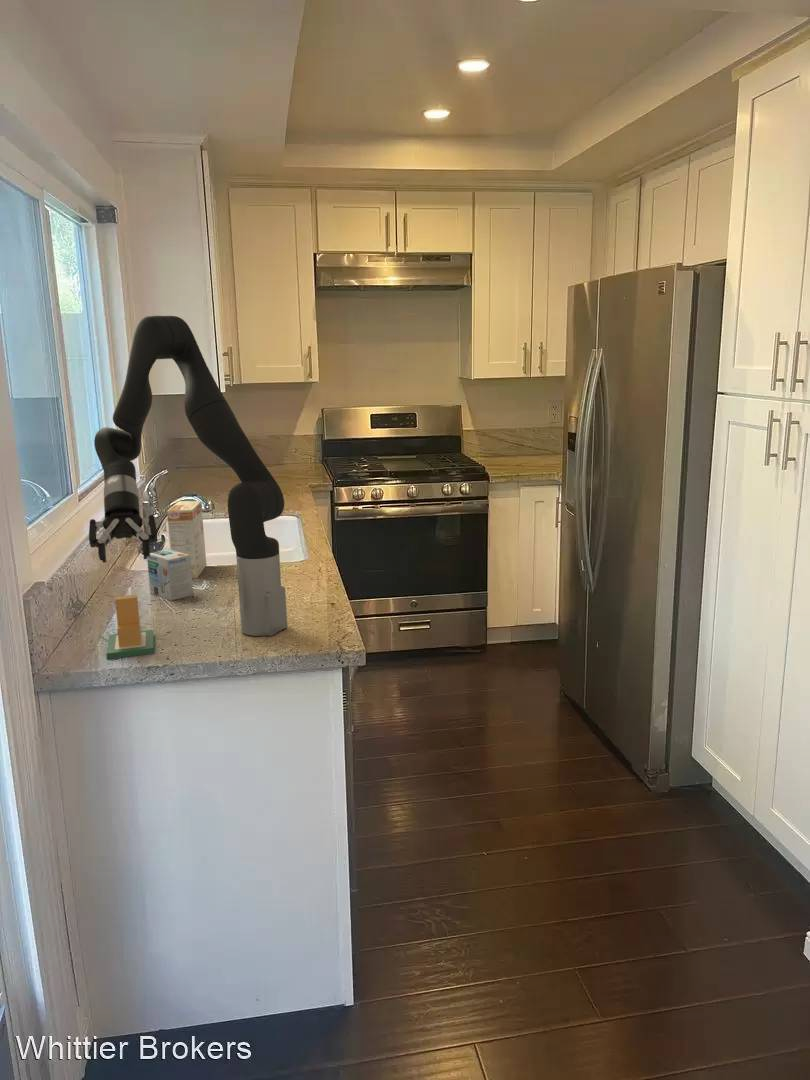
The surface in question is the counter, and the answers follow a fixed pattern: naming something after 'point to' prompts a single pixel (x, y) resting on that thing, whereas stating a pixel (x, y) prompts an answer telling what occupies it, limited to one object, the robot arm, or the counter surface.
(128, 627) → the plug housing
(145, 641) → the board
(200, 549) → the coffeecake box
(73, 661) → the counter surface
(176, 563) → the light bulb box
